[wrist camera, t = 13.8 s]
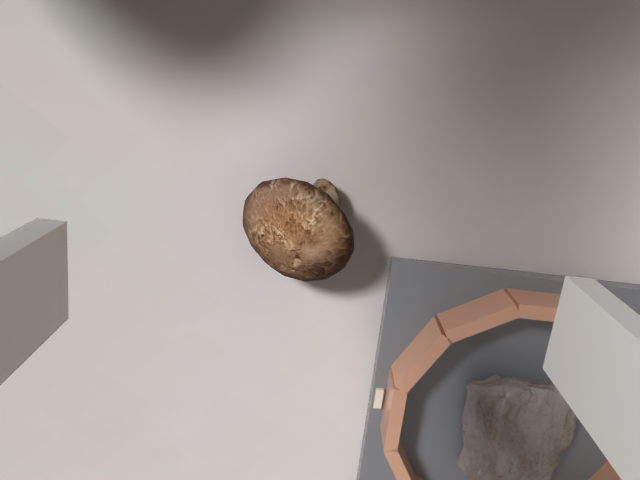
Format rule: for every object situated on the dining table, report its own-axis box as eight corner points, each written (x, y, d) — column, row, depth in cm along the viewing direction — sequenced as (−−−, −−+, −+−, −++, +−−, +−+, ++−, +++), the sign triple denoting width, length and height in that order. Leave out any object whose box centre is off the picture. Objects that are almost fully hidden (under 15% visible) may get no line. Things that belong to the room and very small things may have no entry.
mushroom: (354, 148, 38) (316, 211, 34) (384, 239, 42) (354, 303, 38) (253, 151, 41) (209, 208, 38) (291, 234, 46) (255, 292, 42)
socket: (391, 256, 43) (397, 276, 39) (684, 289, 43) (720, 312, 39) (353, 502, 49) (355, 541, 45) (609, 529, 50) (634, 570, 46)
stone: (530, 480, 47) (557, 536, 41) (434, 458, 46) (448, 511, 41) (575, 375, 44) (611, 420, 39) (474, 350, 44) (495, 392, 38)
